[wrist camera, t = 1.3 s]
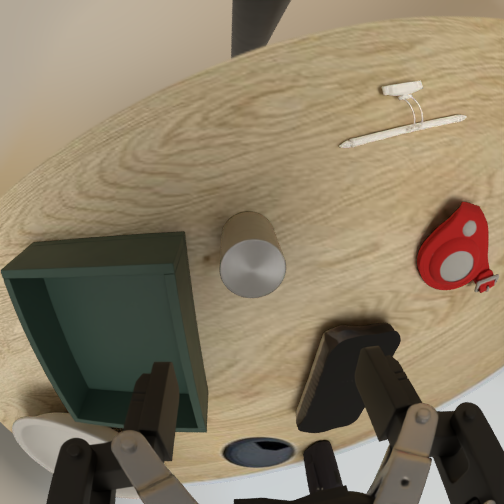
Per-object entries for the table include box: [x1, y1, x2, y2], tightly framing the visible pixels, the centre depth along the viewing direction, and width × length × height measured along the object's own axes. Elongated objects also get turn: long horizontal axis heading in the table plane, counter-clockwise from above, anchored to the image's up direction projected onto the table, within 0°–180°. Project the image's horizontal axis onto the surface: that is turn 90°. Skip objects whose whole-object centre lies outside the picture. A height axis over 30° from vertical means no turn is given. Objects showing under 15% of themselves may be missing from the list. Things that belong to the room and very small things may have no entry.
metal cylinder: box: [220, 212, 286, 298], centre depth 24 cm, size 4×4×6 cm
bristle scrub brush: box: [296, 323, 401, 433], centre depth 32 cm, size 16×8×4 cm, turn 173°
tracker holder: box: [417, 202, 499, 293], centre depth 27 cm, size 12×4×10 cm
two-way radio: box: [303, 441, 343, 494], centre depth 34 cm, size 6×4×15 cm
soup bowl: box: [12, 412, 140, 499], centre depth 35 cm, size 24×24×7 cm
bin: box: [1, 231, 208, 432], centre depth 27 cm, size 20×16×6 cm
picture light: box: [339, 81, 466, 148], centre depth 21 cm, size 14×4×2 cm, turn 109°
